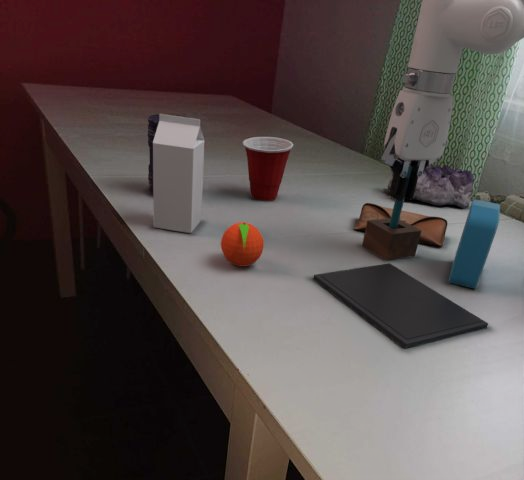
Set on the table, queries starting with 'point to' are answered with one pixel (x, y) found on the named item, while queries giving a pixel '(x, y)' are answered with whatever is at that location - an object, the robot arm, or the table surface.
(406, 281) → the tablet
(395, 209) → the stylus
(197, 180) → the milk carton
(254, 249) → the clementine
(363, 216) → the sunglasses case
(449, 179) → the geode
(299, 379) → the table surface
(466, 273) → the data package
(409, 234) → the pen stand
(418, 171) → the robot arm
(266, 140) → the plastic cup
